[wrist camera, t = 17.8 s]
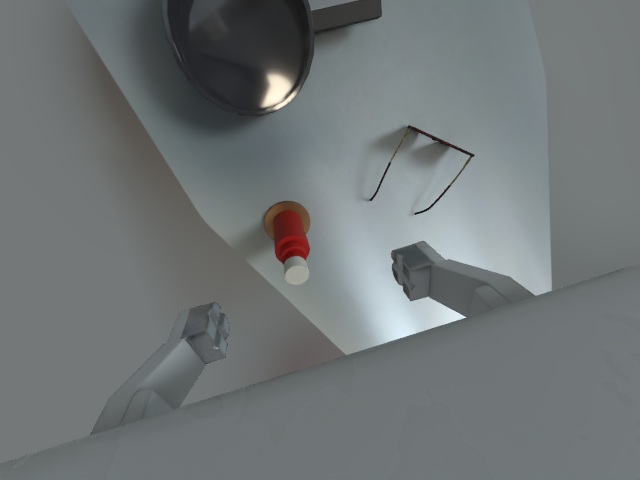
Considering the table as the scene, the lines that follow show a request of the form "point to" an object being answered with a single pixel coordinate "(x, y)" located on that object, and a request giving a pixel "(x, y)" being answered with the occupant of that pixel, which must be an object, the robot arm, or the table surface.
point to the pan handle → (346, 14)
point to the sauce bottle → (291, 246)
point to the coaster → (283, 207)
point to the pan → (242, 50)
